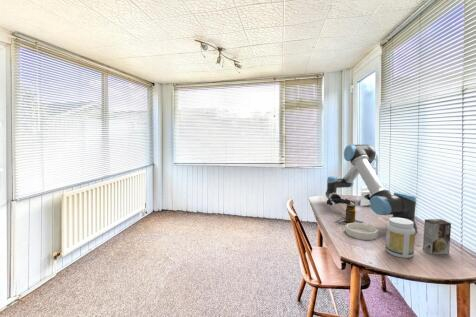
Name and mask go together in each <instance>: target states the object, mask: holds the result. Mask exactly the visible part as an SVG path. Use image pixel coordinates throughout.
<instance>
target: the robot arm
mask: <svg viewBox="0 0 476 317" xmlns="http://www.w3.org/2000/svg"><path fill="white" fill-rule="evenodd" d="M376 152H377V151H376V149H375V148H374V147H373V146H372V145H371V144H354V143H353V144H348V145H347V146H346V147H345V148H344V151H343V157H344V158H343V159H344V160H345V161H347V162H350V163H351V165H352V166H351V167H350V169H349V170H348V172H347V173H345V175H344V176H343V177H342V178H338V177H337V176H330V175H329V176H328V177H327V181H326V182H327V183H326V191H325V196H326V198H327V200H326V205H329V207H330V206H332V207H333V208H336V205H338V204H342V205H343V204H345V205H348V204H352V205H355V204H356V203H355V201H354V200H350V199H348V198H342V197H341V196H340V195H339V194H338V193H337V190H338V189H339V188H340V189H341V188H343V189H344V188H352V187H354V181H355V180H356V179H357V177H359V175H360V177H361V179H362V181H363V182H364V184H365V186H367V188H368V190H369V191H370V193H371V196H370V198H371V199H370V205H369V207H370V208H371V210H372V212H373V213H374V214H376V215H379V216H390V215H391V218H393V217H398V218H404V219H408V220H411V221H413V223H414V226H413V228H414V229H415V234H417V233H418V226H417V223H416V220H415V219H416V218H415V216H416V206H417V198H416V196H415V195H414V194H410V193H406V192H401V191H395V192H394V193H393V194H391V191H390V189H386V188H385V187H384V185H383V184H382V182H381V180H380V179H379V177H378V175H377V174H376V172H375V171H374V169H373V167H372V165H371V163H373V161H374V160H375V158H376V155H377V154H376ZM355 206H356V205H355Z"/></svg>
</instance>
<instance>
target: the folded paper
mask: <svg viewBox="0 0 476 317" xmlns="http://www.w3.org/2000/svg"><path fill="white" fill-rule="evenodd" d="M370 196H371V193H370V191H369V190H368V188H367V186H366V185H365V186H362V187H360V207H364V206H370V199H371V198H370Z"/></svg>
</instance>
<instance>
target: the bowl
mask: <svg viewBox="0 0 476 317" xmlns="http://www.w3.org/2000/svg"><path fill="white" fill-rule="evenodd" d="M344 230H345V234H346V235H348V236H349V237H351V238H354V239H358V240H363V241H374V240H376V239H377V238H378V236H379V229H378V228H377V227H375V226H373V225H370V224H367V223H364V222H363V223H359V222H357V223H348V224H347V225H345V228H344Z"/></svg>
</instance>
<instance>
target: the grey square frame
mask: <svg viewBox="0 0 476 317" xmlns="http://www.w3.org/2000/svg"><path fill="white" fill-rule="evenodd" d="M344 220H345V217H343V216H342V217H341V218H339V219H337V220H335V221H334V224H339V225H343V226H346V225H347V224H345V223H343V222H341V221H344ZM355 222H357V223H363V224H364V221H362V220H357V219H355Z"/></svg>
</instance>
